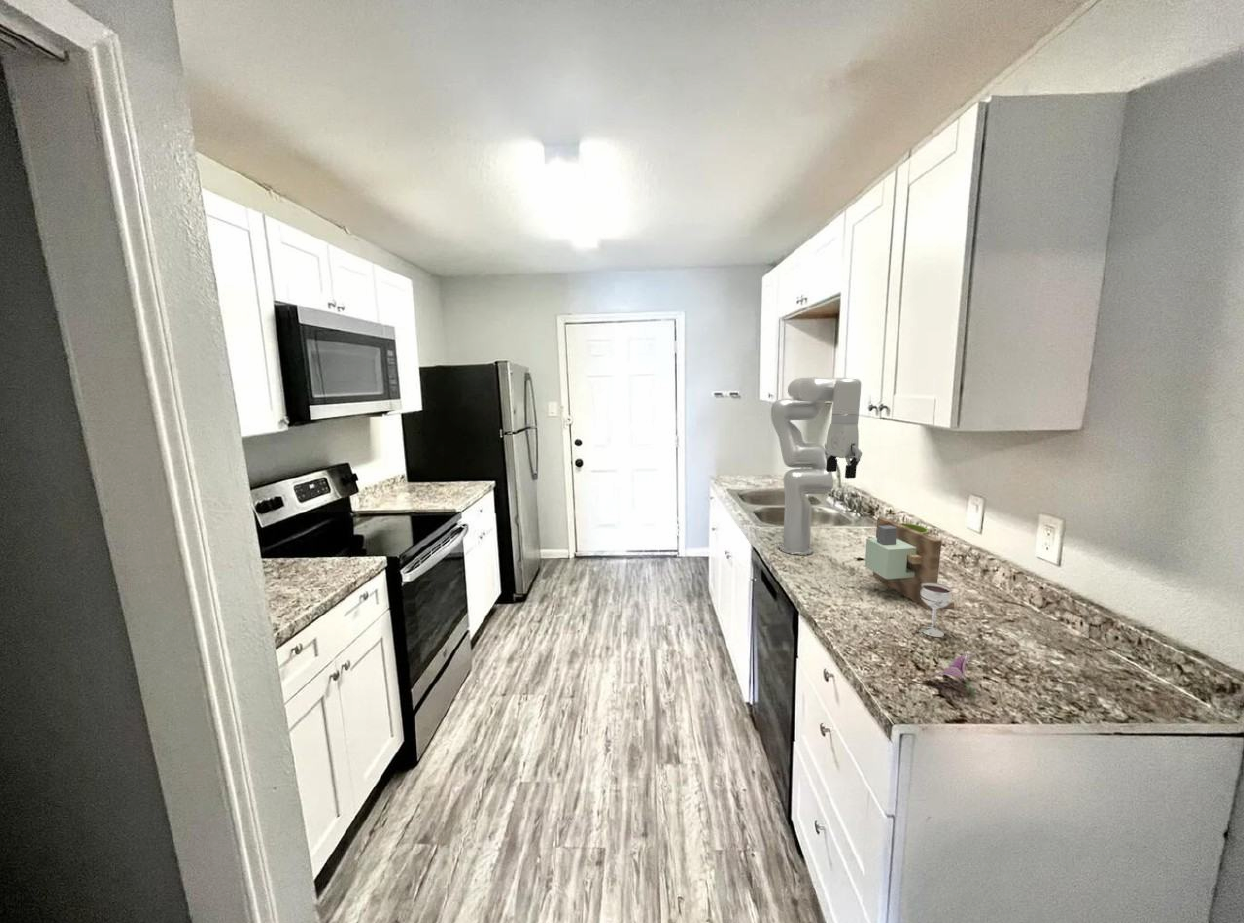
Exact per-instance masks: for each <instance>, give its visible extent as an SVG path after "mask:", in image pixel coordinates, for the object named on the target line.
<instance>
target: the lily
mask: <svg viewBox="0 0 1244 923" xmlns="http://www.w3.org/2000/svg"><path fill="white" fill-rule="evenodd" d="M980 651H981V649H980V650H977V651H974V652H973V653H972V654H970V653H967V654H966V653H964V654H962V655H959V656H958V657H957V658H955V659H952V660H951V661H950V659H948V658H946V659H944V661H945V662H947V663H948V664H949V666H948V668H946V669H945V670H943V671H941V672H935V673H933V674H931V675H930V676H928V677H927V678H925V680H923V681H922V682H925V681H927V680H928V679H931V678H932V677H934V676H937V677H938V676H939V675H942V676H943V675H945V676H951V677H956V678H961V679H963V680H964V682H965V683H966V685H967V686H968V688H969V690H970V693H971V694H972V695H973V697H975V698H974V699H977V696H976V695H975V693H974V690H973V688H972V686H971V685H970V683H969V682H968V680H967V679H966V677H965V669H966V665H967V662H968V661H969V659H971V658H972V657H973V656H974V655H975V654H977V653H979V652H980Z"/></svg>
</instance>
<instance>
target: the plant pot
mask: <svg viewBox="0 0 1244 923" xmlns="http://www.w3.org/2000/svg"><path fill="white" fill-rule="evenodd" d="M897 523H898V524H901V525H903V526H906V527H908V528H911V529H913V530H916V531H918V532H921V533H923V534H925V535H927V534H928V533H929V529H928V528H927V527H925V526H922V525H918V524H915V523H906V522H897Z"/></svg>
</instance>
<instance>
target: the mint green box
mask: <svg viewBox="0 0 1244 923" xmlns="http://www.w3.org/2000/svg"><path fill="white" fill-rule="evenodd" d="M865 540H866V541H865V553H864V554H865V555H864V568H867V569H868V570H870V571H871V572H872V573H873V572H875V573H876V574H878V575H880V576H881V577H883V578H885V579H898V578H911V577H914V574H915V572H913V571H911V570H909V569H907V568H906V564H907V555H914V554H916V550H917V548H916V547H914V546H912V545H910V544H907V543H905V542H903V541H901V540H899V539H897V528H896V527H893V526H891V525H886V526H878V532H877V538H876V537H871V538H869V537H868V538H866V539H865Z"/></svg>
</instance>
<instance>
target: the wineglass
mask: <svg viewBox="0 0 1244 923" xmlns="http://www.w3.org/2000/svg"><path fill="white" fill-rule="evenodd" d="M921 586H922V589H921V590H920V596H921V599H922V600H923V601H924V602H925V603H926V604H927V605H929V606H931V608H932V609H931V610H932V612H931V614H932V616H931V626H923V627H921V628H920V631H921V632H922V633H924V634H925V635H928V636H931V637H934V638H941V637H943V636H945V635H944V634H945V633H944V632H943V631H941V630H940V629H937V628H935V627H934V626H935V620H936V615H937V614H936V613H937V610H939V609H938V608H944V607H946V606H948V605H949V604H950V603H951V601H952V602H953V595H952V593H953V588H951V587H950V586H949V585H946V584H943V583H939V582H937V583H934V582H924V583H922V584H921ZM944 609H945V608H944Z"/></svg>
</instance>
